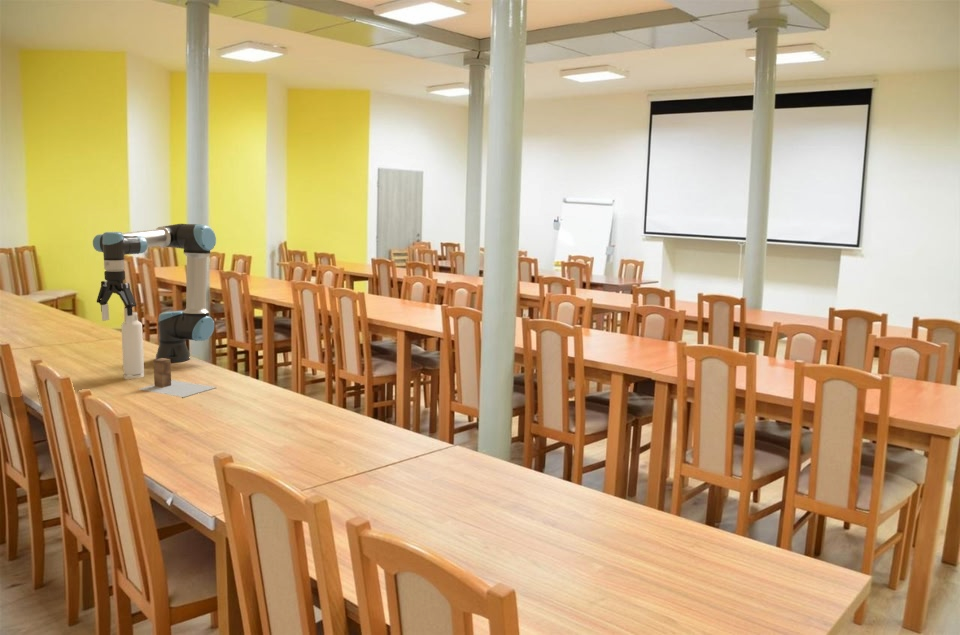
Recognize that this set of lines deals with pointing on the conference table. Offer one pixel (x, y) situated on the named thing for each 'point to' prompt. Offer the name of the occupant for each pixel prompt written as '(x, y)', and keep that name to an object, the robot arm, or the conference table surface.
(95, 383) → the conference table surface
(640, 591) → the conference table surface
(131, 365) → the bottle
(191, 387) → the felt mat
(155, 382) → the walnut block
